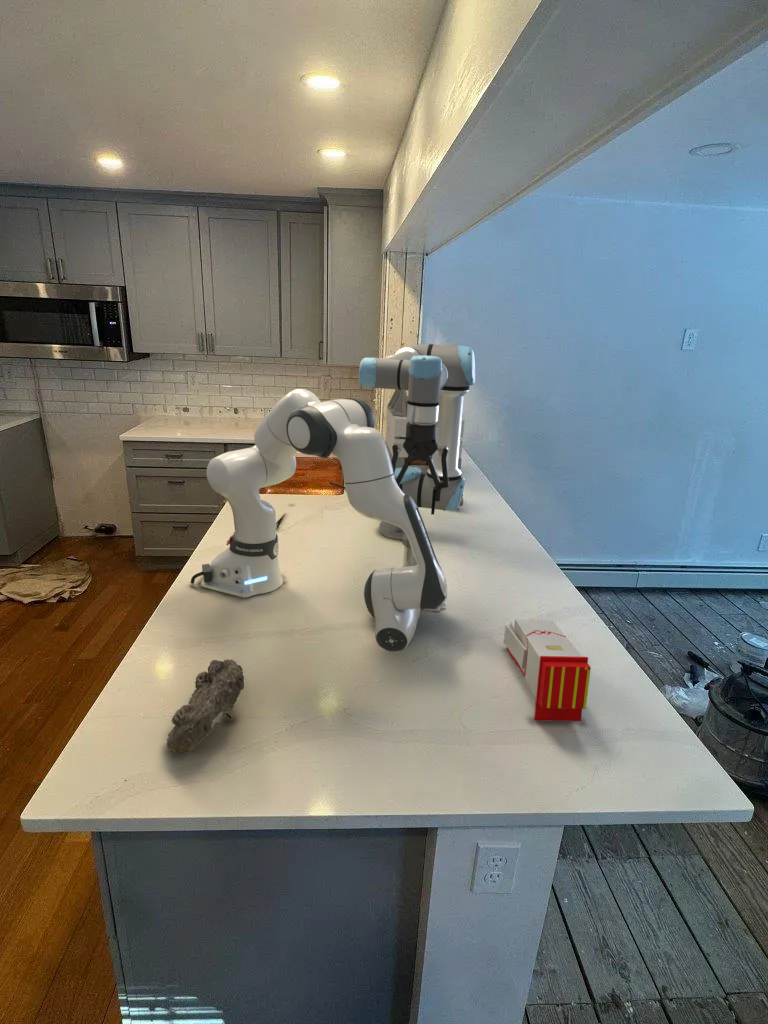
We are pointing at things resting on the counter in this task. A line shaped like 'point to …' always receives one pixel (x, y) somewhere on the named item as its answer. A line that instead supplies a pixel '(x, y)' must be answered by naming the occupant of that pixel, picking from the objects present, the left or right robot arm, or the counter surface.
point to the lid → (406, 541)
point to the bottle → (409, 557)
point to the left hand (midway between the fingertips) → (411, 581)
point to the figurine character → (461, 502)
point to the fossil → (206, 705)
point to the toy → (549, 668)
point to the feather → (279, 521)
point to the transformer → (404, 429)
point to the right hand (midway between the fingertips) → (416, 511)
